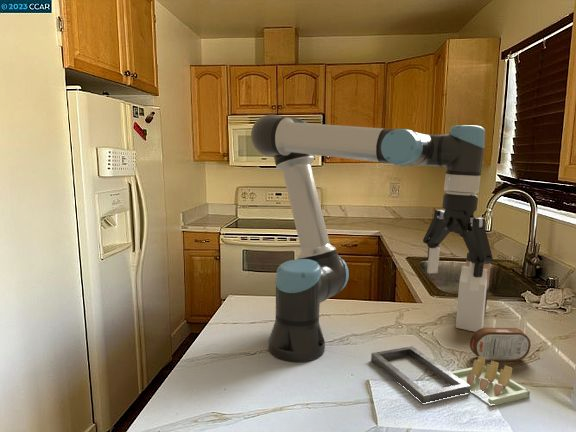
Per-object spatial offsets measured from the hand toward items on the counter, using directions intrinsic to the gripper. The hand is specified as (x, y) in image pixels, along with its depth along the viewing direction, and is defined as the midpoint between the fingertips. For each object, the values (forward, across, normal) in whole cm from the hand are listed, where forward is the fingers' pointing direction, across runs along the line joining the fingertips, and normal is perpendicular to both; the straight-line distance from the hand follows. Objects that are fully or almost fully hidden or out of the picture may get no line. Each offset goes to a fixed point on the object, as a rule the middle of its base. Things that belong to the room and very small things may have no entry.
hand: (451, 281), depth 96 cm
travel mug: (+22, +29, -38) cm, 53 cm away
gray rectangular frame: (+22, -2, +9) cm, 24 cm away
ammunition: (+22, -11, -4) cm, 24 cm away
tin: (+22, -2, -17) cm, 28 cm away
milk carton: (+22, +18, -26) cm, 38 cm away
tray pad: (+22, -11, -4) cm, 25 cm away
